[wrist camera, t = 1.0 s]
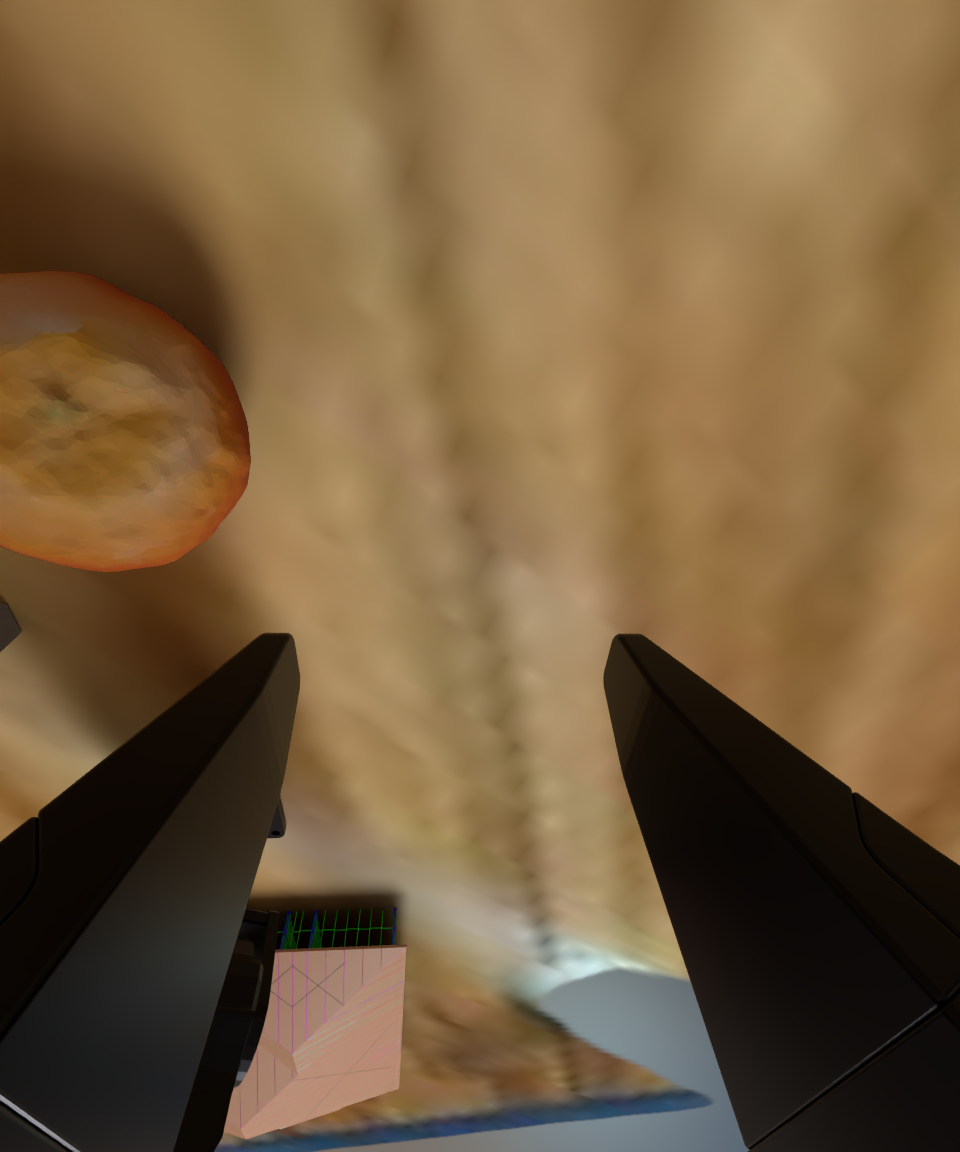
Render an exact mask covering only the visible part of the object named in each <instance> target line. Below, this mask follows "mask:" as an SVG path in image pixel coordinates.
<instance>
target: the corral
mask: <svg viewBox="0 0 960 1152" xmlns="http://www.w3.org/2000/svg"><path fill="white" fill-rule="evenodd" d="M20 633H21V630H20V628H19V626H18V624H17V622H16V620H15V619H14V617H13V615H12V613H11V611H10V609H9V607H8V605H7V604H0V652H1V651H2V650H3V649H4V648H5V647H6V646H7V645H8V644H9V643H11V642H12V641H13V640H14V639H15V638H16V637H17V636H18V635H19V634H20Z"/></svg>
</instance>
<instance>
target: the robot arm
mask: <svg viewBox="0 0 960 1152" xmlns="http://www.w3.org/2000/svg"><path fill="white" fill-rule="evenodd" d="M603 682H604V690H605V694H606V699H607V704H608V709H609V713H610V718H611V723H612V728H613V733H614V737H615V742H616V747H617V752H618V756H619V761H620V765H621V770H622V774H623V777H624V781H625V784H626V787H627V791H628V794H629V797H630V800H631V803H632V806H633V809H634V812H635V815H636V818H637V821H638V824H639V827H640V830H641V833H642V836H643V839H644V842H645V845H646V848H647V851H648V854H649V857H650V860H651V863H652V866H653V869H654V872H655V875H656V878H657V881H658V884H659V887H660V890H661V893H662V896H663V899H664V902H665V905H666V908H667V911H668V914H669V917H670V920H671V923H672V926H673V929H674V932H675V936H676V939H677V942H678V945H679V948H680V951H681V954H682V957H683V960H684V963H685V966H686V969H687V972H688V975H689V978H690V981H691V984H692V987H693V990H694V993H695V995H696V999H697V1002H698V1004H699V1008H700V1011H701V1014H702V1017H703V1020H704V1023H705V1026H706V1029H707V1032H708V1035H709V1038H710V1041H711V1044H712V1047H713V1050H714V1053H715V1056H716V1059H717V1062H718V1065H719V1068H720V1071H721V1074H722V1077H723V1080H724V1083H725V1086H726V1089H727V1092H728V1095H729V1098H730V1101H731V1104H732V1107H733V1111H734V1114H735V1117H736V1119H737V1122H738V1126H739V1129H740V1131H741V1135H742V1138H743V1141H744V1144H745V1146H746V1147H747V1148H748V1149H749V1150H748V1152H960V865H958V864H957V863H955V862H954V861H952V860H951V859H950V858H948V857H947V856H945V855H944V854H942V853H941V852H939V851H938V850H936V849H935V848H933V847H932V846H931V845H929V844H928V843H926V842H925V841H924V840H922V839H921V838H919V837H918V836H917V835H915V834H914V833H912V832H911V831H910V830H908V829H907V828H905V827H904V826H903V825H901V824H900V823H898V822H897V821H895V820H894V819H893V818H891V817H890V816H888V815H887V814H886V813H884V812H883V811H882V810H880V809H879V808H878V807H876V806H875V805H874V804H872V803H871V802H869V801H868V800H867V799H865V798H864V797H863V796H861V795H860V794H859V793H856V792H854V793H852V790H851V788H850V787H849V786H847V785H846V784H845V783H843V782H842V781H841V780H839V779H838V778H837V777H835V776H834V775H833V774H831V773H830V772H828V771H827V770H826V769H824V768H823V767H822V766H820V765H819V764H818V763H816V762H815V761H814V760H812V759H811V758H809V757H808V756H807V755H805V754H804V753H803V752H801V751H800V750H799V749H797V748H796V747H795V746H793V745H792V744H790V743H789V742H788V741H786V740H785V739H784V738H782V737H781V736H780V735H778V734H777V733H776V732H774V731H773V730H771V729H770V728H769V727H767V726H766V725H765V724H763V723H762V722H761V721H759V720H758V719H757V718H755V717H754V716H752V715H751V714H750V713H748V712H747V711H746V710H744V709H743V708H742V707H740V706H739V705H738V704H736V703H735V702H733V701H732V700H731V699H729V698H728V697H727V696H725V695H724V694H723V693H721V692H720V691H719V690H717V689H716V688H714V687H713V686H712V685H710V684H709V683H708V682H706V681H705V680H704V679H702V678H701V677H700V676H698V675H697V674H695V673H694V672H693V671H691V670H690V669H689V668H687V667H686V666H685V665H683V664H682V663H680V662H679V661H678V660H676V659H675V658H674V657H672V656H671V655H670V654H668V653H667V652H666V651H664V650H663V649H661V648H660V647H659V646H657V645H656V644H655V643H653V642H652V641H651V640H649V639H648V638H647V637H645V636H643V635H641V634H618V635H616V636H615V637H614V638H613V640H612V644H611V647H610V651H609V655H608V659H607V663H606V667H605V671H604V677H603ZM299 689H300V672H299V666H298V660H297V654H296V648H295V642H294V639H293V636H292V635H291V634H289V633H263V634H261V635H260V636H258V637H257V638H256V639H254V640H253V641H252V642H251V643H249V644H248V645H247V646H246V647H244V648H243V649H242V650H241V651H239V652H238V653H237V654H236V655H234V656H233V657H232V658H230V659H229V660H228V661H227V662H225V663H224V664H223V665H222V666H220V667H219V668H218V669H217V670H215V671H214V672H213V673H212V674H210V675H209V676H208V677H207V678H205V679H204V680H203V681H202V682H200V683H199V684H198V685H197V686H195V687H194V688H193V689H192V690H190V691H189V692H188V693H187V694H185V695H184V696H183V697H182V698H180V699H179V700H178V701H177V702H175V703H174V704H173V705H172V706H170V707H169V708H168V709H167V710H165V711H164V712H163V713H161V714H160V715H159V716H158V717H156V718H155V719H154V720H153V721H151V722H150V723H149V724H148V725H146V726H145V727H144V728H143V729H141V730H140V731H139V732H138V733H136V734H135V735H134V736H133V737H131V738H130V739H129V740H128V741H126V742H125V743H124V744H123V745H121V746H120V747H119V748H118V749H116V750H115V751H114V752H113V753H111V754H110V755H109V756H108V757H106V758H105V759H104V760H103V761H101V762H100V763H99V764H98V765H96V766H95V767H94V768H93V769H91V770H90V771H89V772H87V773H86V774H85V775H84V776H82V777H81V778H80V779H79V780H77V781H76V782H75V783H74V784H72V785H71V786H70V787H69V788H67V789H66V790H65V791H64V792H62V793H61V794H60V795H59V796H57V797H56V798H55V799H54V800H52V801H51V802H50V803H49V804H47V805H46V806H45V807H44V808H42V809H41V810H40V811H39V813H38V818H37V817H31V818H29V819H28V820H27V821H26V822H24V823H23V824H22V825H21V826H19V827H18V828H17V829H16V830H14V831H13V832H12V833H11V834H9V835H8V836H7V837H6V838H4V839H3V840H2V841H1V842H0V1152H214V1150H215V1149H216V1147H217V1145H218V1144H219V1142H220V1140H221V1138H222V1136H223V1132H224V1128H225V1123H226V1118H227V1114H228V1109H229V1105H230V1100H231V1096H232V1092H233V1089H234V1088H236V1087H238V1086H239V1085H240V1084H241V1082H242V1081H243V1079H244V1078H245V1076H246V1074H247V1072H248V1070H249V1067H250V1065H251V1063H252V1061H253V1058H254V1055H255V1052H256V1050H257V1047H258V1044H259V1041H260V1037H261V1034H262V1031H263V1027H264V1023H265V1019H266V1015H267V1010H268V1006H269V999H270V992H271V984H272V976H273V967H274V959H275V951H276V942H277V934H278V925H279V917H280V912H276V911H271V910H269V911H268V912H265V911H260V910H255V909H250V908H246V906H247V903H248V899H249V896H250V893H251V889H252V886H253V883H254V879H255V876H256V873H257V869H258V866H259V863H260V859H261V856H262V853H263V849H264V846H265V843H266V839H267V838H280V837H282V836H284V834H285V830H286V824H285V819H284V815H283V811H282V806H281V802H280V798H279V796H280V792H281V788H282V784H283V779H284V774H285V769H286V764H287V758H288V752H289V747H290V741H291V735H292V729H293V724H294V718H295V712H296V706H297V701H298V695H299Z"/></svg>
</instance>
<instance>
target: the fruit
mask: <svg viewBox="0 0 960 1152" xmlns="http://www.w3.org/2000/svg"><path fill="white" fill-rule="evenodd" d="M250 463H251V456H250V443H249V432H248V426H247V421H246V417H245V414H244V411H243V408H242V406H241V403H240V400H239V397H238V394H237V391H236V389H235V386H234V384H233V381H232V380H231V378H230V376H229V374H228V372H227V371H226V369H225V368H224V366H223V365H222V363H221V362H220V361H219V360H218V359H217V357H216V356H215V355H214V354H213V353H212V352H211V351H210V350H209V349H208V348H207V347H206V346H205V345H204V344H203V343H202V342H201V341H199V340H198V339H197V338H196V337H195V336H194V335H193V334H192V333H191V332H190V331H188V330H187V329H186V328H185V327H183V326H182V325H181V324H180V323H178V322H177V321H176V320H174V319H173V318H171V317H170V316H169V315H167V314H166V313H165V312H163V311H162V310H161V309H159V308H158V307H156V306H154V305H153V304H150V303H147V302H145V301H142V300H139V299H137V298H135V297H133V296H131V295H130V294H128V293H126V292H124V291H122V290H120V289H119V288H117V287H115V286H113V285H111V284H109V283H108V282H106V281H104V280H102V279H100V278H98V277H96V276H93V275H89V274H85V273H78V272H66V271H40V272H26V273H7V274H0V546H1V547H3V548H6V549H9V550H11V551H14V552H17V553H19V554H22V555H26V556H30V557H33V558H37V559H40V560H44V561H48V562H51V563H55V564H58V565H63V566H68V567H73V568H78V569H84V570H92V571H98V572H114V571H123V570H130V569H138V568H146V567H155V566H160V565H164V564H167V563H170V562H173V561H176V560H178V559H179V558H181V557H182V556H183V555H184V554H186V553H187V552H188V551H190V550H192V549H193V548H194V547H196V546H197V545H199V544H200V543H202V542H204V541H206V540H207V539H208V538H209V537H210V536H212V535H213V533H214V532H215V530H216V529H217V527H218V526H219V524H220V523H221V522H222V521H223V520H224V519H225V517H226V516H227V515H228V514H229V513H230V511H231V510H232V509H233V508H234V506H235V505H236V503H237V502H238V500H239V499H240V497H241V496H242V494H243V492H244V491H245V489H246V487H247V485H248V478H249V470H250Z"/></svg>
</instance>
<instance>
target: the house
mask: <svg viewBox="0 0 960 1152" xmlns="http://www.w3.org/2000/svg"><path fill="white" fill-rule="evenodd" d="M276 912H277V911H276ZM297 912H298V911H297ZM297 912H296V917H297ZM360 912H361V909H360ZM337 913H338V909H337ZM290 914H291V911H288V912H287V917H286V921H287V922H286V921H285V926H284V931H283V932H278V933H283V935H282V940H281V945H280V949H279V950H276V951H275V959H274V967H273V976H272V984H271V992H270V999H269V1006H268V1010H267V1015H266V1019H265V1023H264V1027H263V1031H262V1034H261V1037H260V1041H259V1044H258V1047H257V1050H256V1052H255V1055H254V1058H253V1061H252V1063H251V1065H250V1067H249V1070H248V1072H247V1074H246V1076H245V1078H244V1079H243V1081H242V1082H241V1084H240V1085H239V1086H238V1087H236V1088H234V1089H233V1092H232V1096H231V1100H230V1105H229V1109H228V1114H227V1118H226V1123H225V1128H224V1132H226V1133H229V1134H232V1135H235V1136H238V1137H241V1138H244V1139H249V1138H252V1137H255V1136H258V1135H261V1134H264V1133H267V1132H270V1131H273V1130H276V1129H283V1128H286V1127H289V1126H292V1125H295V1124H298V1123H301V1122H304V1121H307V1120H310V1119H313V1118H316V1117H319V1116H322V1115H325V1114H328V1113H331V1112H334V1111H337V1110H340V1109H341V1108H342V1107H345V1106H348V1105H351V1104H354V1103H357V1102H360V1101H363V1100H366V1099H369V1098H372V1097H375V1096H378V1095H381V1094H384V1093H387V1092H390V1091H393V1090H396V1089H399V1078H400V1058H401V1039H402V1019H403V1000H404V980H405V961H406V946H407V945H395V939H396V938H395V937H396V908H394V917H393V928H382V925H381V927H376V928H369V929H359V923H358V928H349V929H347V926H346V929H342V930H335V928H334V929H322V930H319V928H320V927H318V925H319V922H317V921H318V916H317V914H318V910H315V912H314V918H313V924H312V929H311V930H301V924H302V919H303V914H304V910H303V914H302V919H301V924H300V930H299V931H294V927H295V922H296V917H295V922H294V927H293V926H291V924H292V921H290V919H291V915H290ZM325 916H326V910H325ZM325 916H324V922H325ZM348 916H349V910H348ZM371 916H372V908H371ZM336 920H337V914H336ZM359 921H360V914H359ZM382 921H383V912H382ZM324 922H323V928H324ZM289 923H290V925H289ZM347 925H348V918H347ZM335 927H336V921H335ZM370 927H371V919H370ZM288 928H289V930H288ZM290 929H291V931H290ZM370 929H381V935H382V929H393V935H392V945H381V939H380V946H373V944H372V946H369V941H368V946H357V942H356V947H352V945H351V947H345V942H344V947H341V945H340V947H333V942H332V948H323V946H322V945H321V944H322V942H321V941H322V935H323V931H333V930H334V934H335V931H346V933H347V930H358V931H359V930H369V938H370ZM292 930H293V931H292ZM306 931H311V935H310V941H309V946H310V947H308V949H297V945H298V940H299V935H300V932H306ZM320 932H322V935H321V937H320ZM287 933H288V935H287ZM294 933H299V935H298V940H297V945H296V942H294V940H295V937H293V935H294ZM289 934H290V936H289ZM291 935H292V936H291ZM288 939H289V940H288ZM290 940H291V941H290ZM292 940H293V941H292ZM357 940H358V932H357ZM333 941H334V935H333ZM345 941H346V934H345ZM285 943H286V944H285ZM289 945H290V946H289ZM291 945H292V946H291ZM293 945H294V946H293ZM295 945H296V946H295Z"/></svg>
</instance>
